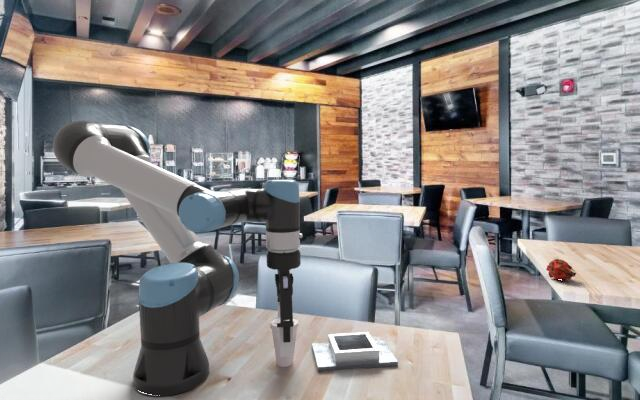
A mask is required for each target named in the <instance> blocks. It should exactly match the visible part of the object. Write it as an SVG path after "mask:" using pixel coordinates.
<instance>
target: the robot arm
mask: <svg viewBox="0 0 640 400" xmlns="http://www.w3.org/2000/svg"><path fill="white" fill-rule="evenodd" d="M150 149H151V144H150V142H149V139H148V138H147V136H146V135H145V134H144V133H143V132H142V131H141V130H140V129H138V128H136V127H133V126H130V125H127V124H122V123H115V124H114V123H107V122H100V121H99V122H97V121H90V120H75V121H71V122H69V123H66V124H64V125H63V126H62V127H60V129H58V131H57V132H56V134H55V135H54V138H53V143H52V150H53V154H54V156H55V158H56V160H57V161H58V162H59V163H60V164H61V165H62V166H63V167H65V169H67V170H70V172H73V173H75V174H77V175H79V176H81V177H84V178H96V179H99V180H101V181H103V182H104V183H107V184H110V185H112V186H113V187H115V188H117V189H120V191H121V193H123V195H124V196H125V198H126V200H127V201H128V202H129V204H130V205H131V207H132V208H133V210H134V211H135V213H136V214H137V216H138V217H139V219H140V221H142V223H143V225H144V226H145V227H146V229H147V230H148V232H149V233H150V235H151V236H152V238H153V240H154V241H155V242H156V244H157V245H158V247H159V248H160V250H161V251H162V252H163V255H164V256H165V257H166V258H167V260H168V261H169V263H168V264H162V265H158V266H155V267H153V268H151V269H149V270H147V271H146V272H145V273H144V274H142V276H141V278H140V279H139V282H138V283H139V285H138V293H137V295H138V296H137V299H138V307H139V308H138V309H139V310H138V311H139V326H140V327H139V330H140V343H141V344H140V345H141V346H140V349H139V353H138V356H137V359H136V363H135V367H134V371H133V374H132V376H133V377H132V378H133V379H132V380H133V382H132V383H133V387H135V388H136V389H137V390H139V391H141V392H144V393H147V394H152V395H158V396H157V397H169V396H175V395H179V394H182V393H183V394H184V393H185V392H189V391H191V390H192V389H195V388H197V387H198V386H200V385H201V384H203V383H204V382H205V381H206V380H207V379H208V377H209V374H210V362H209V358H208V355H207V354H206V353H207V352H206V351H205V348H204V345H203V343H202V340H201V336H200V335H201V334H200V318H201V317H202V316H204V315H205V314H207V313H209V312H211V311H213V310H214V309H215V308H217V307H220V306H222V305H224V304H225V303H226V302H228V300H229V299H231V298H233V296H234V295H235V293H236V292H237V289H238V287H239V281H240V274H239V270H238V266H236V264H235V261H233V259H232V258H230V257H228V256H227V255H223V254H220V253H219V254H218V252H216V250H215V249H214V248H213V246H212V245H211V244H210V243H205V242H202V241H201V240H200V238H199V237H198V236H197V233H198V234H199V233H208V232H212V231H215V230H218V229H222V228H225V227H228V226H233V225H236V224H240V223H244V222H245V223H249V222H250V223H254V222H255V223H257V222H258V223H265V248H266V249H267V251H266V266H267V268H268V269H271V270H275V271H276V270H277V272H276V273H275V274H274V283H275V287H276V296H277V298H276V299H277V318H279V317H280V323H277V327H280V357H281V356H293V325H294V322H293V318H294V313H293V310H294V309H293V293H294V287H293V285H294V276H293V273H292V272H290V271H291V270H295V269H298V268H299V267H300V266H301V263H302V262H301V261H302V260H301V250H300V249H299V248H300V247H301V240H300V239H302V238H303V233H301V226H300V224H301V223H300V221H301V219H300V217H301V216H300V215H301V211H300V210H301V209H300V208H301V205H300V204H301V198H300V197H301V196H300V187H299V186H300V185H299V183H298V181H296V180H294V179H268V180H266V181H265V183H264V188H241V187H240V188H238V187H230V188H229V187H228V188H221V189H219V190H216V191H215V190H212V189H209V188H206V187H204V186H202V185H199V184H197V183H195V182H194V181H191V180H189V179H187V178H184V177H183V176H179V175H177V174H175V173H173V172H171V171H168V170H166V169H164V168H162V167H161V166H160V167H159V166H157V165H155V164H153V163H152V158H151V151H150ZM284 320H290V321H284ZM135 388H134V389H135ZM136 389H135V390H136ZM137 390H136V391H137ZM159 395H160V396H159Z"/></svg>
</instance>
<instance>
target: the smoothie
mask: <svg viewBox="0 0 640 400" xmlns="http://www.w3.org/2000/svg"><path fill="white" fill-rule="evenodd" d="M284 321H290V320H284ZM293 322H294V325H293V356H281V357H280V327H277V323H280V317H279V318H278V317H276V318H274V319H272V320H270V325H269V327H270V329H271V332H272V339H273V346H274V347H273V348H274V354H275V360H276V365H277V366H278V367H280V368H287V367H290V366H292V365H294V358H295V348H296V341H297V333H298V332H297V330H298V328H299V320H298V319H296V318H295V317H293Z"/></svg>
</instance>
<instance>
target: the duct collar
mask: <svg viewBox="0 0 640 400" xmlns="http://www.w3.org/2000/svg"><path fill="white" fill-rule="evenodd" d="M327 338H328V342H316V343H311V351H312V354H313V357H314V360H315V364H316V368H317V372H329V371H330V372H332V371H333V372H334V371H346V370H359V369H372V368H388V367H399V361H398V359H397V358H396V356H395V355H394V353H393V352H392V351H391V349H390V348H389V347H388V345H387V343H386V342H385V341H384V338H383V339H378V338H377V339H373V337H372V335H371V334H370V332H369V331H366V332H364V331H363V332H349V333H345V332H344V333H330V334H328V337H327Z"/></svg>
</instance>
